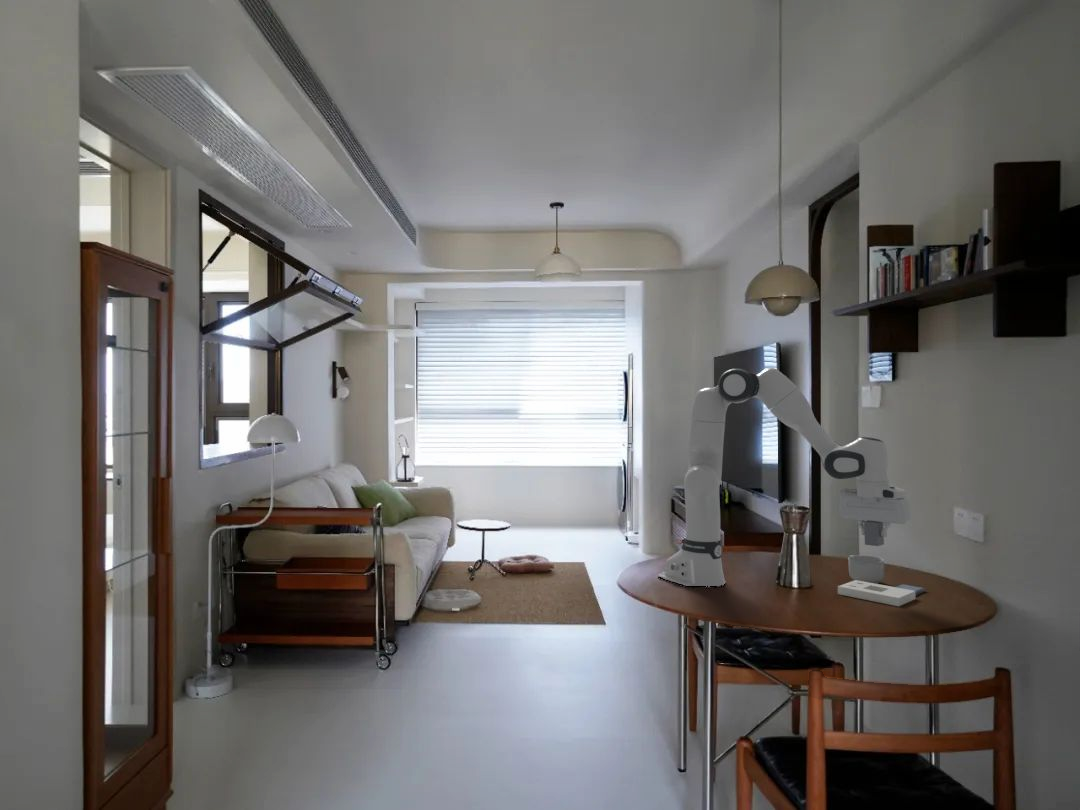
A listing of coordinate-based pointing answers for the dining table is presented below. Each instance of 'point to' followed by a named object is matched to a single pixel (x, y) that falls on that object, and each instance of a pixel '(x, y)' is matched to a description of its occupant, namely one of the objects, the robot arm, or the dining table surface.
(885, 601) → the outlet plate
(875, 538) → the block
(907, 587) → the phone
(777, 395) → the robot arm
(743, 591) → the dining table surface
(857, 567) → the grey rounded block
